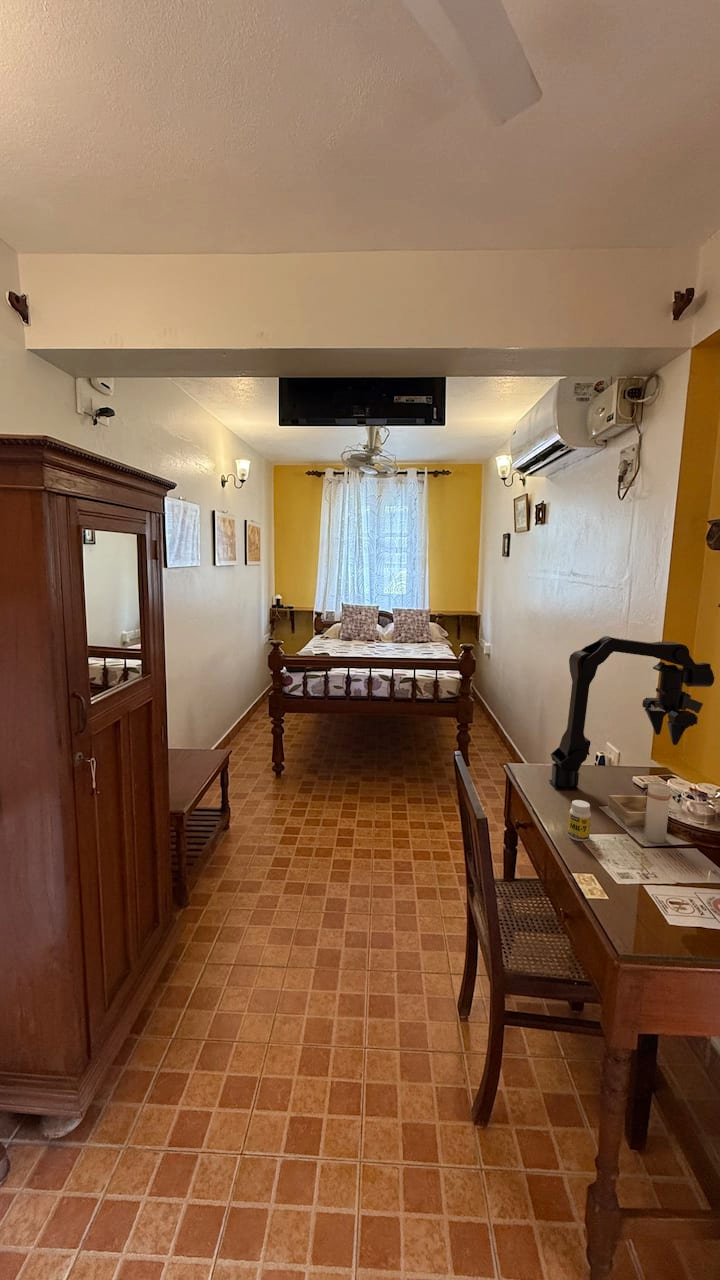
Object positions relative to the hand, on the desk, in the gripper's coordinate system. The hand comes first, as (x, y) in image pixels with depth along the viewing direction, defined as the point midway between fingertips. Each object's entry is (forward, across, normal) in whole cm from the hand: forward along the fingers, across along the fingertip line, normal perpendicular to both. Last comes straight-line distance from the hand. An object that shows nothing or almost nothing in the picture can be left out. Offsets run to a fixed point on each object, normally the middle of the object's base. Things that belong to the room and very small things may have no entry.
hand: (666, 739), depth 157 cm
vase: (+15, -30, +17) cm, 38 cm away
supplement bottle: (+15, -30, +35) cm, 49 cm away
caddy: (+15, -19, +16) cm, 29 cm away
